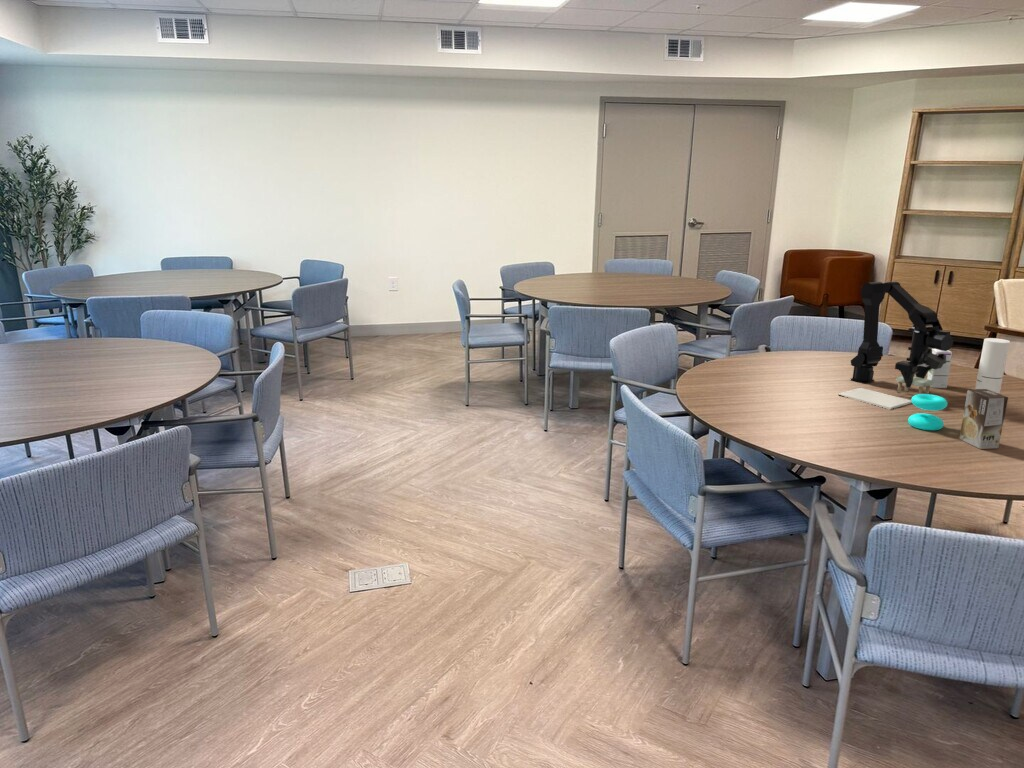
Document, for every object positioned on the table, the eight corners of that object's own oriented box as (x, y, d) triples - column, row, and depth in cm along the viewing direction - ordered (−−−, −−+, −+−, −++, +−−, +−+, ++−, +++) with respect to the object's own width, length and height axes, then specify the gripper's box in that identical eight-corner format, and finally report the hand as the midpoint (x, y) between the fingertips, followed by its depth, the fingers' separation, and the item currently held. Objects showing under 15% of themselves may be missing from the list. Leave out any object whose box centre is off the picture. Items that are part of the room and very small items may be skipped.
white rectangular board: (837, 395, 253) (838, 393, 253) (860, 389, 260) (860, 387, 260) (889, 409, 236) (890, 407, 236) (912, 402, 243) (912, 400, 243)
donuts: (955, 402, 212) (922, 402, 212) (949, 431, 215) (917, 431, 215) (936, 392, 222) (905, 392, 222) (931, 421, 224) (901, 421, 225)
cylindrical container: (988, 414, 230) (1002, 343, 223) (966, 409, 236) (979, 339, 229) (1000, 411, 233) (1014, 341, 226) (978, 406, 239) (991, 337, 232)
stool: (894, 392, 252) (896, 377, 251) (904, 389, 255) (906, 374, 254) (921, 399, 244) (923, 383, 242) (931, 396, 247) (933, 380, 246)
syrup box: (947, 388, 260) (953, 351, 256) (930, 387, 261) (936, 351, 257) (941, 384, 265) (947, 348, 261) (924, 383, 267) (930, 348, 263)
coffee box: (999, 448, 201) (1010, 397, 196) (979, 449, 200) (989, 398, 196) (976, 437, 209) (986, 388, 205) (957, 438, 209) (966, 389, 204)
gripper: (929, 352, 233) (921, 395, 238) (957, 345, 242) (950, 387, 247) (897, 346, 242) (891, 388, 247) (926, 340, 252) (919, 380, 256)
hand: (913, 386), depth 249 cm, fingers closed on stool, 6 cm apart
